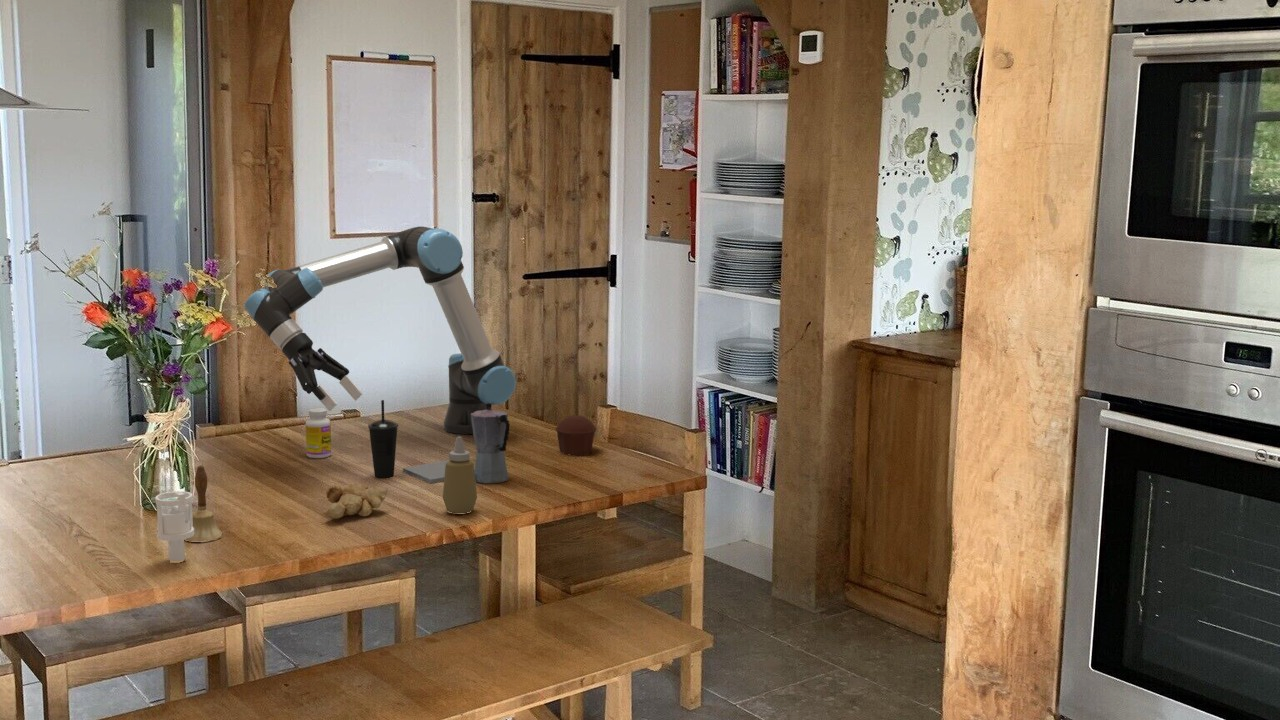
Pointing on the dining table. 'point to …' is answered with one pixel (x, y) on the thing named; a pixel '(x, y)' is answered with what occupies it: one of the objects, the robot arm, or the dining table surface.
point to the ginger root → (353, 500)
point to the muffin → (575, 435)
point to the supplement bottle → (318, 434)
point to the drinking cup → (383, 446)
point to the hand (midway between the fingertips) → (346, 402)
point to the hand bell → (203, 512)
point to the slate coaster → (428, 471)
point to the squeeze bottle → (459, 481)
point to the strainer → (175, 521)
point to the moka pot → (490, 444)
